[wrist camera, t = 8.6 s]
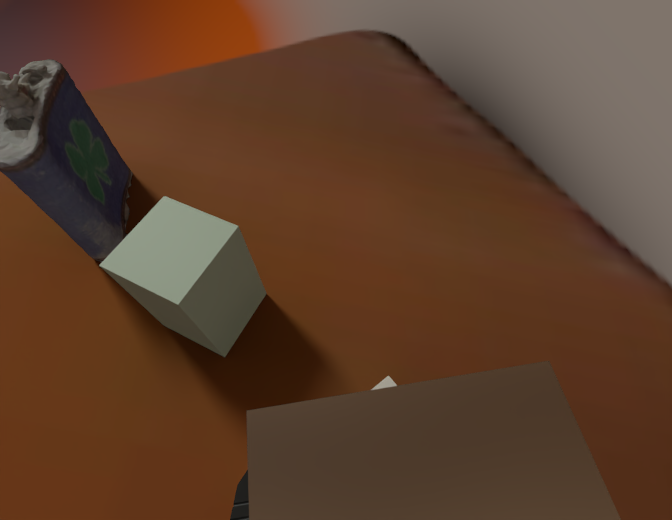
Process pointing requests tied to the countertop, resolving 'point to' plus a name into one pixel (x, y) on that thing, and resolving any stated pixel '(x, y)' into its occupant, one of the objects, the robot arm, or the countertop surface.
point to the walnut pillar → (428, 453)
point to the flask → (63, 156)
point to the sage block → (189, 273)
